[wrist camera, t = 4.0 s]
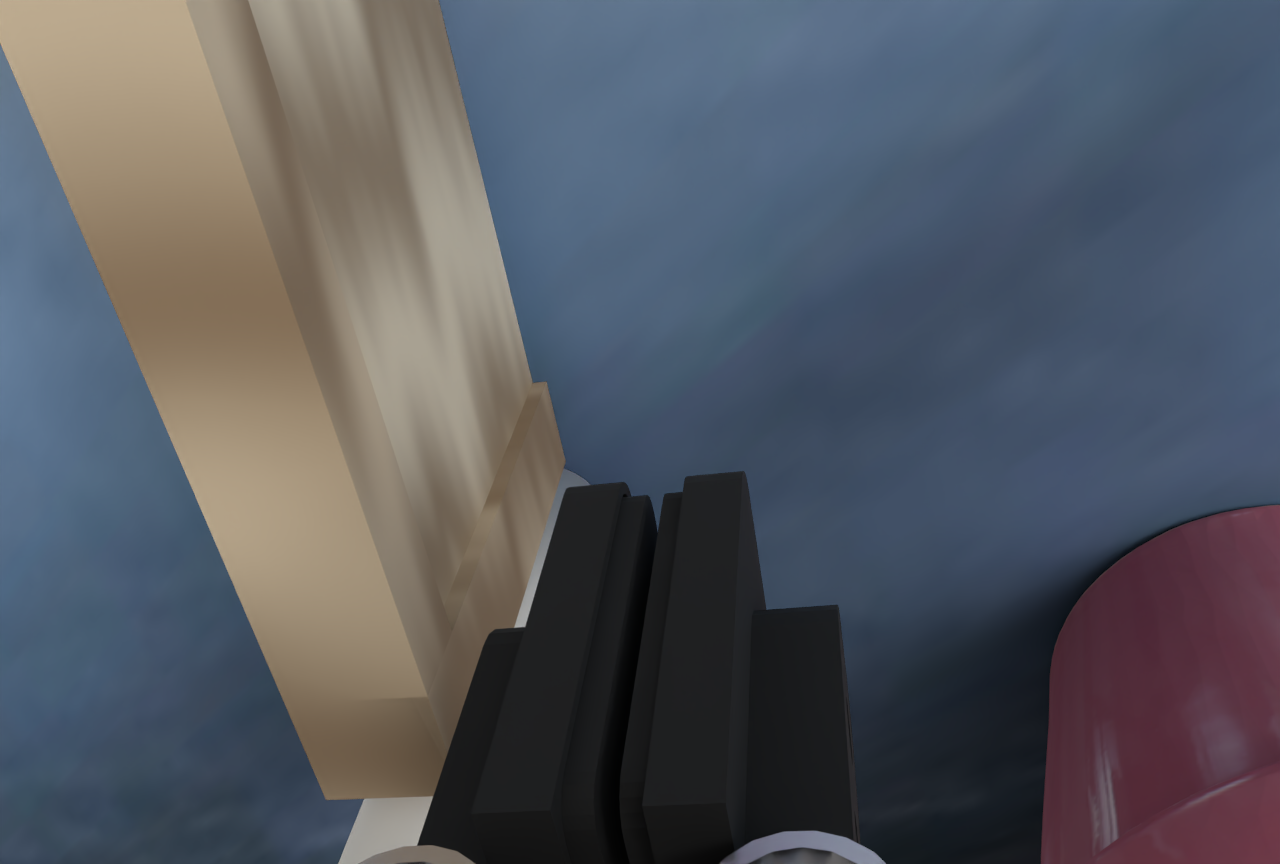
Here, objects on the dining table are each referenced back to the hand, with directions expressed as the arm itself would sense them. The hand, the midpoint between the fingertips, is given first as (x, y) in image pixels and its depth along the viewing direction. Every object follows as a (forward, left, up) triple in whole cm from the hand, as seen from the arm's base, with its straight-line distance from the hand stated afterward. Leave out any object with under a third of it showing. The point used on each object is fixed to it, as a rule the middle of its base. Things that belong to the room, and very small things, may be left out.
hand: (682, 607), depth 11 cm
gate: (+6, -3, -13) cm, 14 cm away
